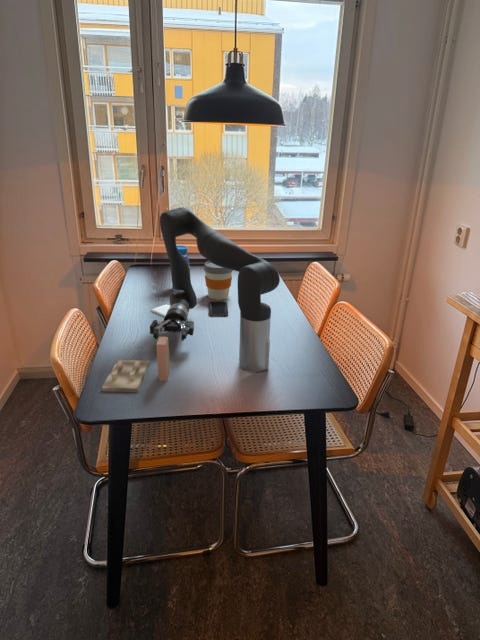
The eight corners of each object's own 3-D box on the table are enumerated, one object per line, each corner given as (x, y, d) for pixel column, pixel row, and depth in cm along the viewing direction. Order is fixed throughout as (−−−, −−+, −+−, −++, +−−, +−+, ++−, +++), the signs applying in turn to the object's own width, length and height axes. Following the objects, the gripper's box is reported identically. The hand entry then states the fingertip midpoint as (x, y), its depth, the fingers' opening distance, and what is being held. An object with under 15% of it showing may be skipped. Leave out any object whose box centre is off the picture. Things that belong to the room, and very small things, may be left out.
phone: (208, 314, 170) (209, 301, 184) (208, 317, 171) (209, 303, 184) (228, 314, 171) (227, 301, 184) (228, 317, 171) (227, 303, 185)
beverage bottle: (188, 285, 205) (187, 244, 197) (191, 291, 197) (190, 248, 189) (170, 286, 202) (168, 245, 194) (173, 292, 195) (172, 250, 187)
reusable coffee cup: (207, 302, 185) (207, 268, 179) (202, 292, 196) (201, 260, 190) (235, 299, 188) (236, 267, 182) (228, 290, 199) (228, 259, 193)
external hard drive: (167, 307, 180) (186, 315, 173) (151, 312, 174) (171, 321, 167) (166, 303, 180) (186, 311, 172) (151, 309, 174) (171, 317, 166)
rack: (117, 363, 135) (116, 354, 133) (149, 364, 135) (148, 355, 133) (102, 391, 120) (100, 381, 119) (137, 392, 120) (136, 382, 119)
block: (161, 371, 131) (159, 336, 126) (169, 372, 131) (168, 336, 126) (158, 380, 126) (156, 344, 121) (167, 380, 126) (165, 344, 121)
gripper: (155, 306, 149) (145, 326, 134) (196, 307, 149) (191, 327, 134) (157, 325, 152) (147, 347, 137) (196, 327, 152) (191, 348, 137)
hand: (168, 337), depth 136 cm, fingers open, 8 cm apart
